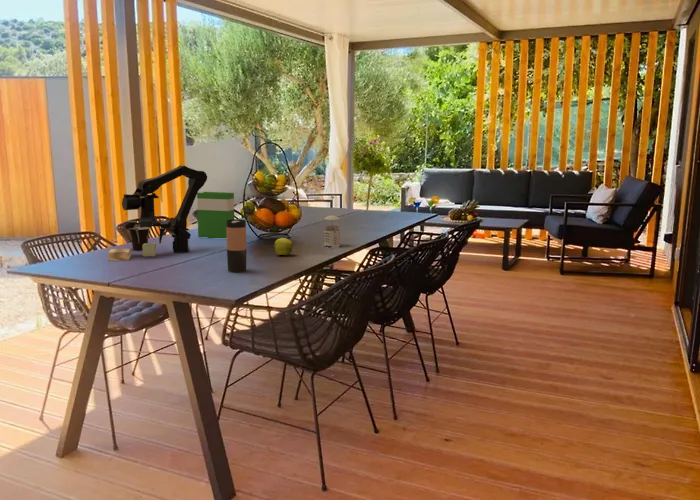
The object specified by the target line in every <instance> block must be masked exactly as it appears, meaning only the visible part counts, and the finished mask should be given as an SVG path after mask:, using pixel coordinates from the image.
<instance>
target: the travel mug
mask: <svg viewBox="0 0 700 500" xmlns="http://www.w3.org/2000/svg"><path fill="white" fill-rule="evenodd" d="M226 224H227V239H226V259H227V260H226V261H227V271H228V272H230V273H243V272H246V271H247V249H248V247H247V220H246V219H238V218H237V219H235V218H234V219H232V220H227V221H226Z"/></svg>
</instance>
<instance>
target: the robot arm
mask: <svg viewBox="0 0 700 500" xmlns="http://www.w3.org/2000/svg"><path fill="white" fill-rule="evenodd" d="M182 176H184V177H185V178H188V180H187V181H188V185H187V186H188V188H187V190H186V191H185V195H184V197H183V199H182V202H181V204H180V206H179V209H178V211H177V214H176V216H174V217H170V218H169V219H168V220H161V221H159V222H157V219H158V218H157V216H156V214H155V213H156V212H155V199H159V198H160V196H158V195H157V194H156V193H155V192H156V191H157V190H159V188H161V187H162V186H163V185H165V184H167V183H169V182H171V181H174V180H176V179H177V178H180V177H182ZM207 181H208V174H207V173H206V172H205V171H204V170H196V169H193V168H191V167H188V166H187V165H180V164H179V165H178V166H177V167H175V168H173V169H170V170H169V171H166V172H164V173H162V174H160V175H158V176H155V177H150V178H146V179H142V180H140V181H138V183H137V188H136V189H135V190H134V192H133V193H132V194H126V193H124V194H123V198H122V199H121V206H122V209H123V210H124V211H134V210H139V208H140V217H139V221H138V222H137V220H128V221H126V222H125V224H124V227H125V229H127V230H128V231H130V230H131V231H132V232H133V234H134V236H135V238H136V241H137V243H138V244H139V234H138V228H136V227H141V228H143V227H147V228H149V229H150V228H152V227H159V239H158V240H159V242H158V243H159V244H162V241H163V237H164V234H165V232H166V230H167V232H168V233H169V234H170V236H171V238H173V241H172V252H173V253H189V251H190V249H189V248H190V246H189V240H190V239H191V236H192V235H191V233H190V232H189V231H188V230H187V227H188V223H187V221H188V220H187V219H188V216H189V214H190V212H191V209H192V207H193V204H194V202H195V199H196V198H197V193H199V191H200V190H201V189H202V188H203V186H204V185H205V183H206V182H207Z"/></svg>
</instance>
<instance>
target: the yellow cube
mask: <svg viewBox="0 0 700 500" xmlns="http://www.w3.org/2000/svg"><path fill="white" fill-rule="evenodd" d="M142 249H143V250H142V257H155V256H156V255H157V242H155V243H154V242H153V243H149V242H148V243H147V244H143V245H142Z"/></svg>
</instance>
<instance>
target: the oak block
mask: <svg viewBox="0 0 700 500" xmlns="http://www.w3.org/2000/svg"><path fill="white" fill-rule="evenodd" d="M131 250H132V249H131V248H111V249H110V250H109V251H108V256H107V257H108V261H109V262H118V261H119V262H121V261H123V262H125V261H126V260H127V261H130V259H131V257H132V254H131Z"/></svg>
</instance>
